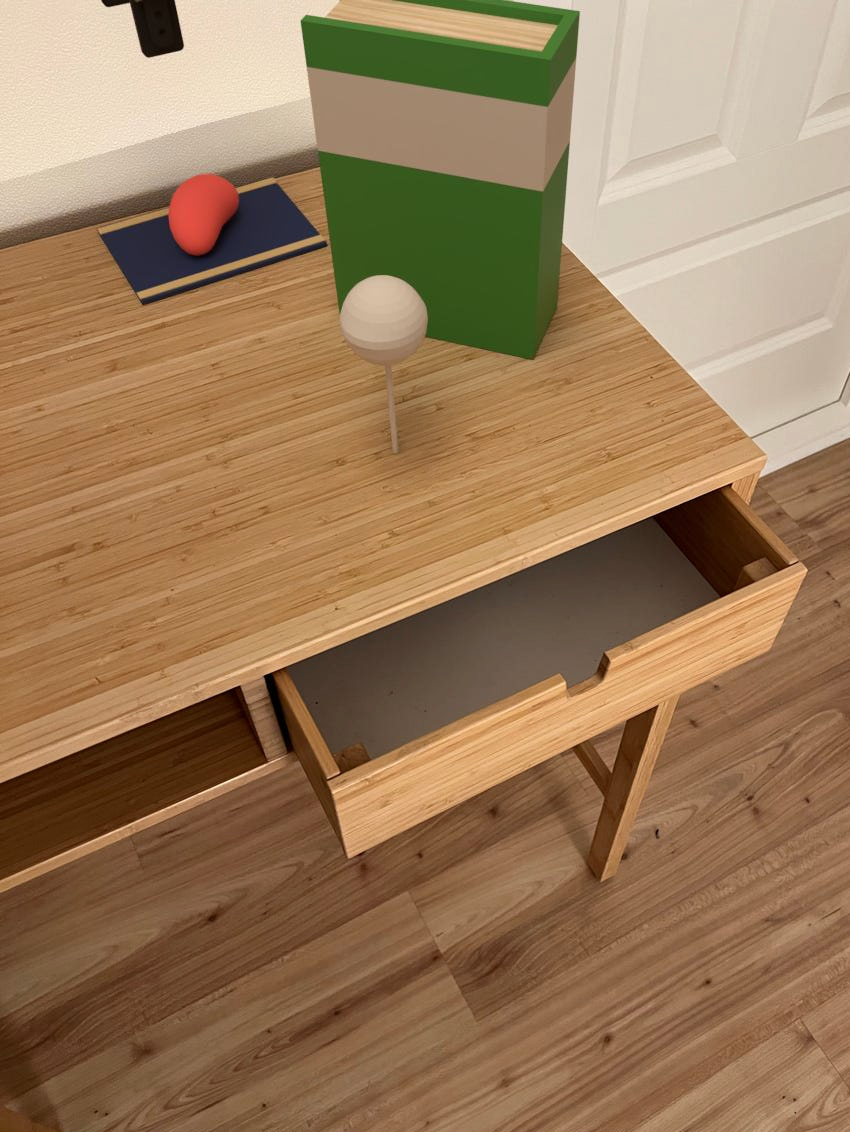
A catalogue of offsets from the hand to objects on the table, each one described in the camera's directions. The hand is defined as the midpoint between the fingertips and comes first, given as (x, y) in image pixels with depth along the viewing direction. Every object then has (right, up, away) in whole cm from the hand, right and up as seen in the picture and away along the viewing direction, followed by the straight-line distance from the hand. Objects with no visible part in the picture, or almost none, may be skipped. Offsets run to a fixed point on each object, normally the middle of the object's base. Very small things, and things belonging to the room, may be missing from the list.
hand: (142, 26), depth 79 cm
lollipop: (+20, -34, -1) cm, 39 cm away
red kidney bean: (+1, -10, +15) cm, 18 cm away
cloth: (+1, -11, +15) cm, 19 cm away
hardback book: (+24, -20, +9) cm, 32 cm away
